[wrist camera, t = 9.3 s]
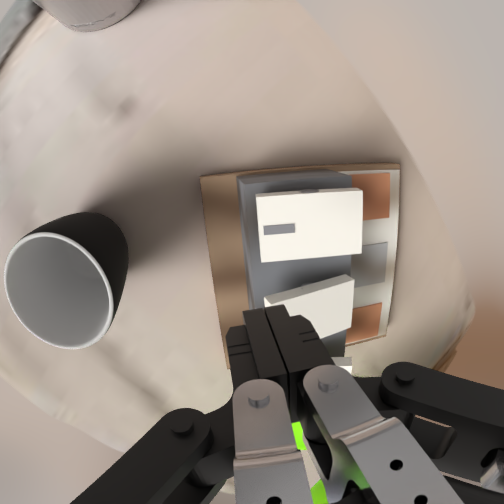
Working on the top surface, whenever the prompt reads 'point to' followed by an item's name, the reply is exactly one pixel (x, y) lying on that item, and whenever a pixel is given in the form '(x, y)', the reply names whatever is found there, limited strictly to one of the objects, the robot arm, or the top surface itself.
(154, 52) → the top surface
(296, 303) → the switch middle
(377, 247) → the switch unit
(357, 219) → the switch near
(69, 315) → the mug
